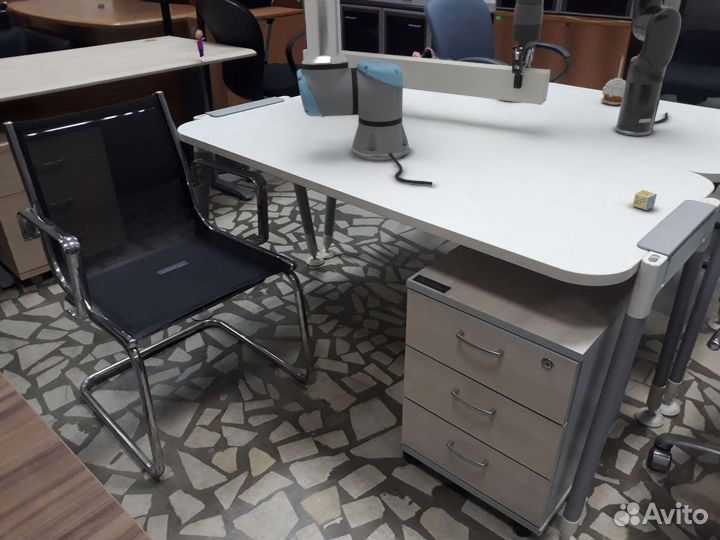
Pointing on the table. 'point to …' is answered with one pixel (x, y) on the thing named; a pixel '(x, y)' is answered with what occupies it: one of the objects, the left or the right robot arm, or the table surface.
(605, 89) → the decorative ornament
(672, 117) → the table surface
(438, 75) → the bar
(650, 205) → the alphabet block
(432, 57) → the running shoe
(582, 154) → the table surface
